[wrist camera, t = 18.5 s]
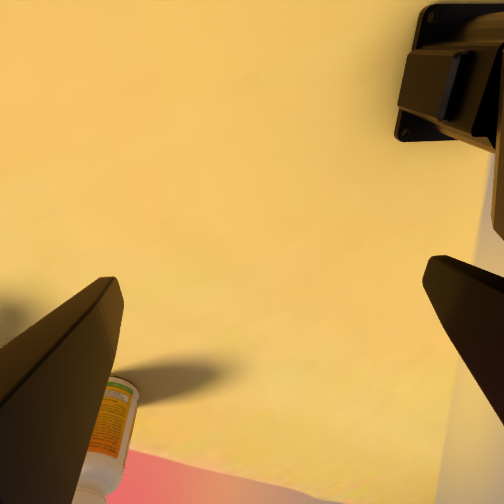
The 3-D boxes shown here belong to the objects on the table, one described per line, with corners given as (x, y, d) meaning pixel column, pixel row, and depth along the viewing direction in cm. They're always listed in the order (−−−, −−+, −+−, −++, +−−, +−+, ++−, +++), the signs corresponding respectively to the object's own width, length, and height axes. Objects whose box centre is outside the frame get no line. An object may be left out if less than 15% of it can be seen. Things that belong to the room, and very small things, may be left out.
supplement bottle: (66, 381, 28) (5, 517, 20) (125, 368, 28) (88, 500, 20) (94, 415, 31) (51, 546, 23) (149, 404, 31) (124, 531, 23)
